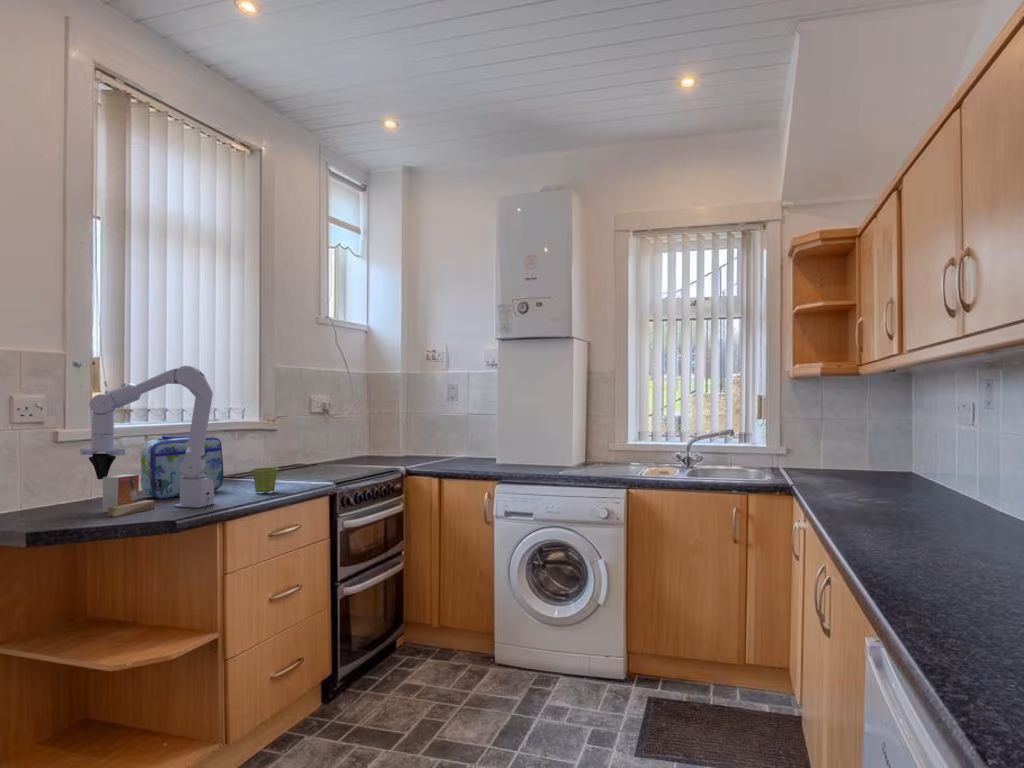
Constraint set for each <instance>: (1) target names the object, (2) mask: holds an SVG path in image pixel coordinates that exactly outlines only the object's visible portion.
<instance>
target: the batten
mask: <svg viewBox="0 0 1024 768" xmlns="http://www.w3.org/2000/svg"><path fill="white" fill-rule="evenodd" d="M153 508H154V509H155V500H151V499H148V500H147V499H145V500H140V501H139V500H138V502H134V503H129V504H124V505H119V506H114V507H109V508H108V512H107V517H109V516H112V517H113V518H117V516H118V517H122V515H123V516H126V515H127V514H128V515H132V514H135V513H136V512H137V513H141V512H145V510H146V511H149V509H151V510H154V509H153ZM140 511H141V512H140ZM131 513H132V514H131Z"/></svg>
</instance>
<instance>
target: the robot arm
mask: <svg viewBox="0 0 1024 768" xmlns="http://www.w3.org/2000/svg"><path fill="white" fill-rule="evenodd" d="M170 384H171V385H181V386H182V387H184V388H186V389H188V391H189V392H190V393H191V394H192V395H193V396H194V397H195V399H194V403H193V404H194V405H193V411H192V417H191V418H192V419H191V424H190V431H189V435H188V436H189V441H188V447H187V450H186V453H185V458H184V460H183V461H182V462H181V464H180V471H181V473H182V474H183V475H182V476H180V496H179V503H176V504H173V505H172V507H177V508H179V507H181V508H203V507H207V505H208V506H210V505H211V504H212V505H215V503H216V501H215V490H214V482H213V480H212V479H210V478H206V477H205V476H206V474H204V472H203V471H204V469H205V467H206V461H205V458H204V454H205V449H204V446H205V440H206V437H207V432H208V426H209V421H210V415H211V413H210V412H211V407H212V401H213V395H214V393H213V390H212V388H211V386H210V383H209V382H208V381H207V378H206V376H205V374H204V373H203V372H202V371H201V370H200V369H199V368H197V367H195V366H194V367H193V366H192V365H191V366H190V365H183V366H180V367H178V368H173V369H169V370H167V371H164V372H162V373H160V374H157V375H155V376H153V377H151V378H149V379H146V380H144V381H142V382H139V383H138V384H134V383H131V382H128V383H126V382H123V383H121V384H120V386H119V387H117V388H115V389H112V390H106V391H104V394H101V393H100V394H96V395H95V396H93V397H92V398H91V399H90V401H89V404H88V405H89V409H90V411H91V443H90V444H91V446H90V447H88V448H87V447H85V448H84V447H83V448H80V449H79V453H80V454H79V455H80V456H81V455H83V456H85V455H89V457H88V460H89V461H90V463H91V464H92V466H93V469H94V472H95V474H96V478H97V480H103V477H108V475H109V472H110V468H111V466H112V465H113V462H114V461H115V460H116V456H118V457H121V456H125V455H126V448H115V447H114V441H115V439H114V435H115V433H114V432H115V431H114V430H115V428H114V427H115V419H114V416H115V415H114V414H115V413H114V412H115V411H116V409H120V408H122V407H125V406H128V405H129V404H131V403H134V402H137V401H139V400H140V399H141V396H142V395H143V394H145V393H148V392H150V391H153V390H155V389H158V388H160V387H164V386H166V385H170ZM90 455H91V456H90ZM212 505H211V506H212Z"/></svg>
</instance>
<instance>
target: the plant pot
mask: <svg viewBox="0 0 1024 768" xmlns="http://www.w3.org/2000/svg"><path fill="white" fill-rule="evenodd" d="M279 470H280V468H278V467H257V468H251V470H250V471H251V472H252V476H253V481H254V482H253V484H254V488H255V489H254V490H255V491H254V492H255V493H256V492H270V491H274V492H275V488H276V487H275V486H276V481H277V475H278V472H279Z"/></svg>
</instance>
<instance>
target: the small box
mask: <svg viewBox="0 0 1024 768" xmlns="http://www.w3.org/2000/svg"><path fill="white" fill-rule="evenodd" d="M139 477H140V475H139V474H126V473H125V474H123V473H122V474H118V475H113V476H112V475H111V476H107V477H103V479H102V500H101V501H102V502H101V503H102V504H101V505H102V508H101V510H102V513H108V508H109V507H114V506H119V505H124V504H129V503H134V502H139V484H140V483H139V482H140V479H139Z"/></svg>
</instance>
